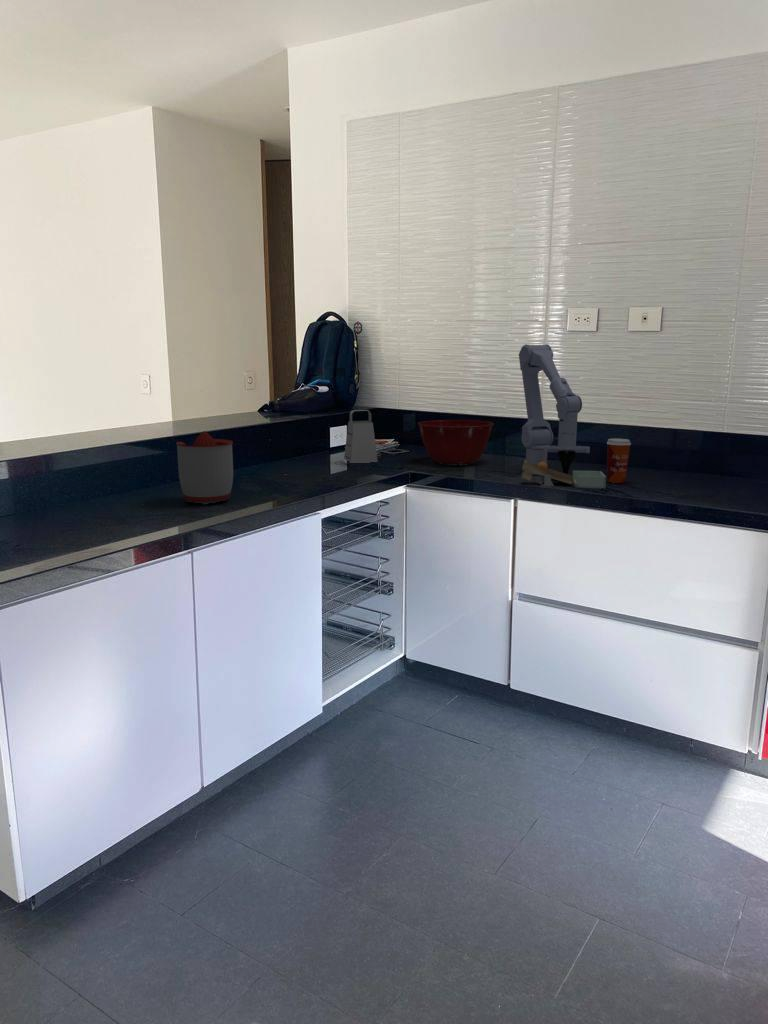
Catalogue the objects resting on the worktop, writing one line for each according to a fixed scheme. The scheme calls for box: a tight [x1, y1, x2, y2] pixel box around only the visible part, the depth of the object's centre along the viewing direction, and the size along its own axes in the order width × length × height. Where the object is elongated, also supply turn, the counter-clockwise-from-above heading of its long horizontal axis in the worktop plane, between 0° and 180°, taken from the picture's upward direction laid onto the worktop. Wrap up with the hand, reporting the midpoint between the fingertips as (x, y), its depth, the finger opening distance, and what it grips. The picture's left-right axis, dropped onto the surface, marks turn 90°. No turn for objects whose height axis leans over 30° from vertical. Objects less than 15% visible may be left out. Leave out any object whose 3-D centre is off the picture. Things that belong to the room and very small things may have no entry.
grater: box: [343, 409, 379, 463], centre depth 279 cm, size 10×10×20 cm
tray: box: [571, 470, 607, 490], centre depth 238 cm, size 11×9×4 cm
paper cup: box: [606, 438, 632, 484], centre depth 243 cm, size 8×8×14 cm
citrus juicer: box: [175, 431, 234, 502], centre depth 211 cm, size 16×17×20 cm
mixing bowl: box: [417, 419, 495, 466], centre depth 281 cm, size 28×28×16 cm
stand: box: [538, 474, 555, 487], centre depth 240 cm, size 8×4×4 cm, turn 173°
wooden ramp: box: [520, 459, 574, 485], centre depth 243 cm, size 13×16×5 cm
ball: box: [538, 462, 548, 470], centre depth 239 cm, size 3×3×3 cm
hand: (565, 474), depth 246 cm, fingers closed
